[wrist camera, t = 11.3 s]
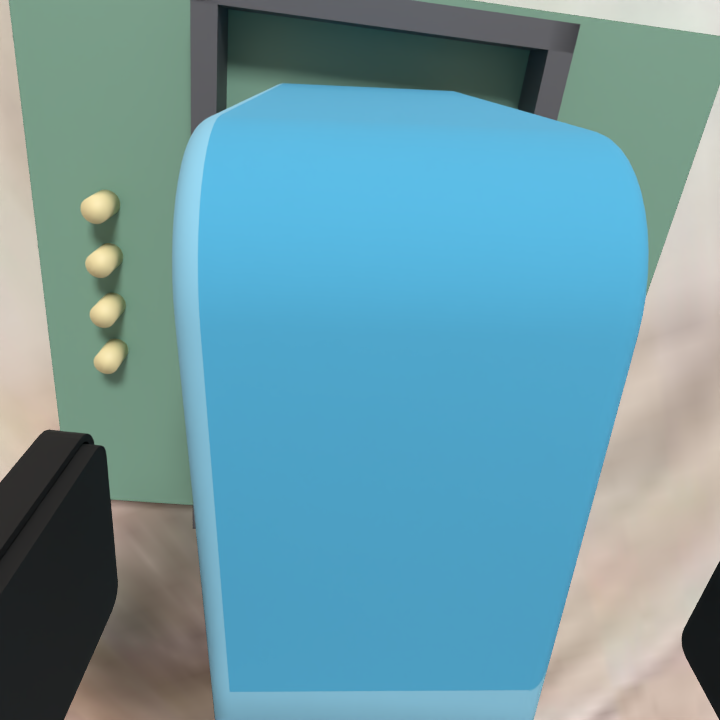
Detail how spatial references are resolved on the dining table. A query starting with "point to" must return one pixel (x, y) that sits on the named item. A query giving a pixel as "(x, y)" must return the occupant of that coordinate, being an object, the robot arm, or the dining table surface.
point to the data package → (396, 392)
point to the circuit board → (242, 81)
